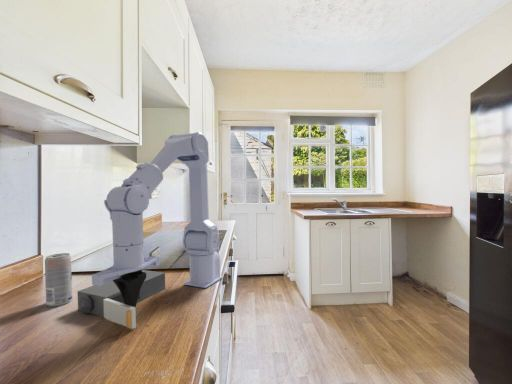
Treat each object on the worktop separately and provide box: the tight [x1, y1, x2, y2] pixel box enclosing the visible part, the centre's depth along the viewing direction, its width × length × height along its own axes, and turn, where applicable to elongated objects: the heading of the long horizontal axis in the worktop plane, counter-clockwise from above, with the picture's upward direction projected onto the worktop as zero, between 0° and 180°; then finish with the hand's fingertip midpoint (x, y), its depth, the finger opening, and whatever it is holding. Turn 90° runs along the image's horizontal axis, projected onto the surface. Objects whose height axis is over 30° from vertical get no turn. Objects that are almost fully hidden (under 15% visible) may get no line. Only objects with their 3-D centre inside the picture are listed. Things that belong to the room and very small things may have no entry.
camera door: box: [103, 298, 137, 330], centre depth 55 cm, size 10×1×4 cm, turn 59°
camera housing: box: [77, 269, 166, 318], centre depth 68 cm, size 19×10×4 cm, turn 156°
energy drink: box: [44, 252, 73, 308], centre depth 67 cm, size 5×5×12 cm
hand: (130, 308), depth 55 cm, fingers closed
